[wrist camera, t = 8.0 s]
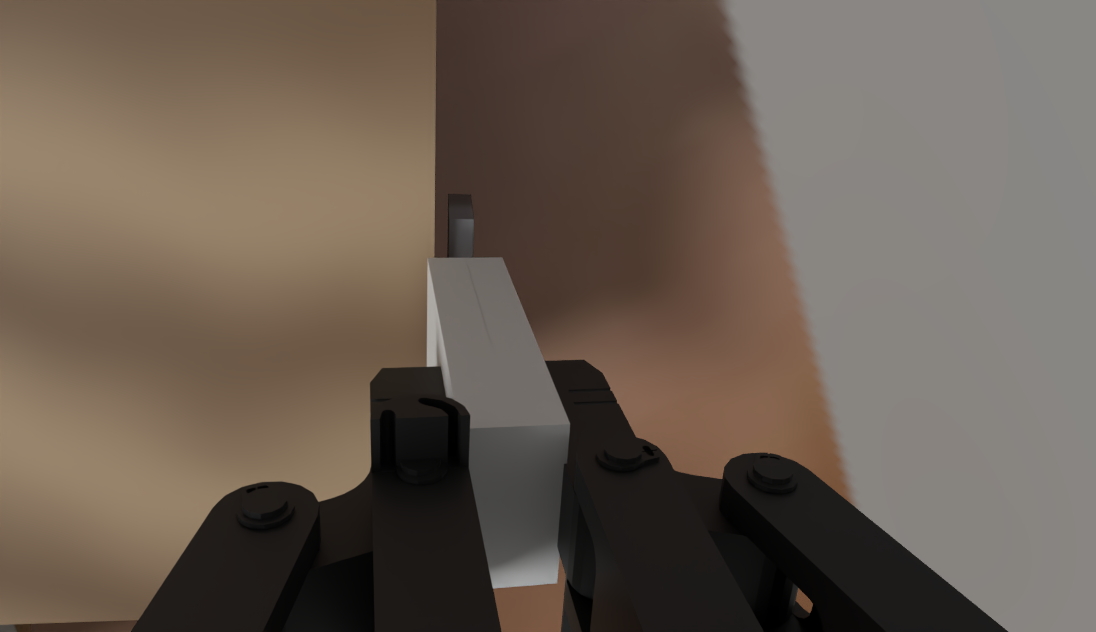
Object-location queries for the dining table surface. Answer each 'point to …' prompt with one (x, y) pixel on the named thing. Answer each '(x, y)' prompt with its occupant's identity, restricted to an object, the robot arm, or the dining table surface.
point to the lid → (198, 269)
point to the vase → (15, 628)
